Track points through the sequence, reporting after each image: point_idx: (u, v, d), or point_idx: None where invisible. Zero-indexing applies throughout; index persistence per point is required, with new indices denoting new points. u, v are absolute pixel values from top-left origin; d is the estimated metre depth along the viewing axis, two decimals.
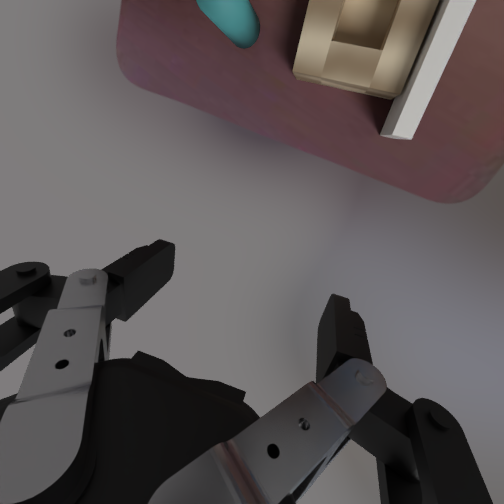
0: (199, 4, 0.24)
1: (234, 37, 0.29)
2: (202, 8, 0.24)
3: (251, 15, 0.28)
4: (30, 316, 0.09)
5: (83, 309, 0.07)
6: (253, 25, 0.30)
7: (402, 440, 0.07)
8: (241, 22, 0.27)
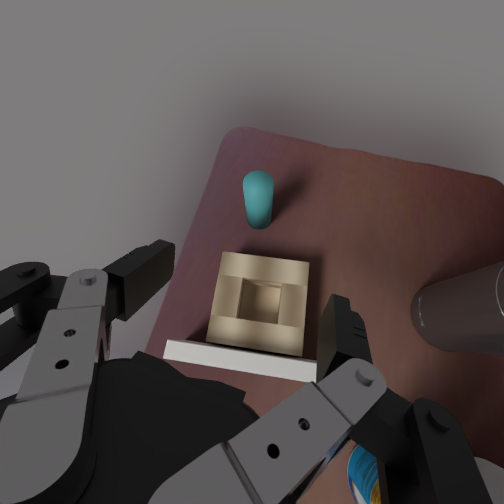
0: (249, 173, 0.33)
1: None
2: (247, 175, 0.33)
3: (258, 218, 0.38)
4: (30, 316, 0.09)
5: (83, 309, 0.07)
6: (256, 221, 0.39)
7: (402, 440, 0.07)
8: (249, 208, 0.36)
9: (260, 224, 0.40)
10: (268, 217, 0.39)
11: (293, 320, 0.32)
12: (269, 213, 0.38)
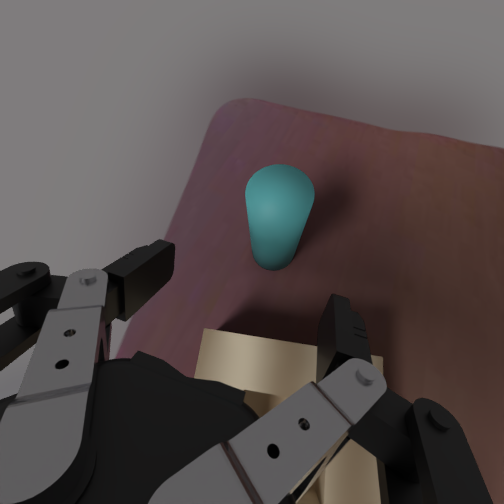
0: (260, 171, 0.15)
1: None
2: (255, 176, 0.15)
3: (275, 256, 0.20)
4: (30, 316, 0.09)
5: (83, 309, 0.07)
6: (269, 261, 0.21)
7: (402, 440, 0.07)
8: (258, 240, 0.18)
9: (276, 264, 0.22)
10: (292, 253, 0.21)
11: (358, 502, 0.14)
12: (295, 247, 0.20)
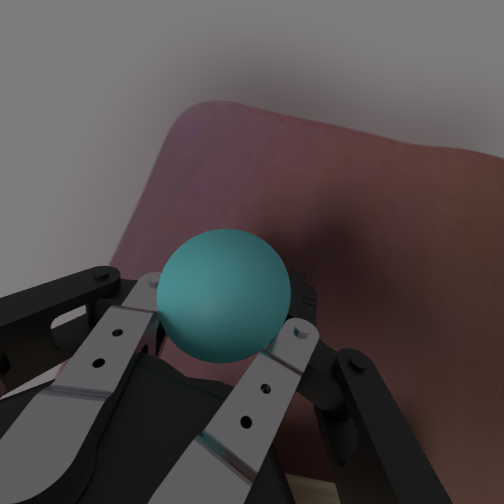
0: (190, 243, 0.08)
1: None
2: (180, 252, 0.08)
3: None
4: (95, 317, 0.09)
5: (137, 312, 0.07)
6: None
7: (327, 382, 0.08)
8: None
9: None
10: None
11: None
12: None
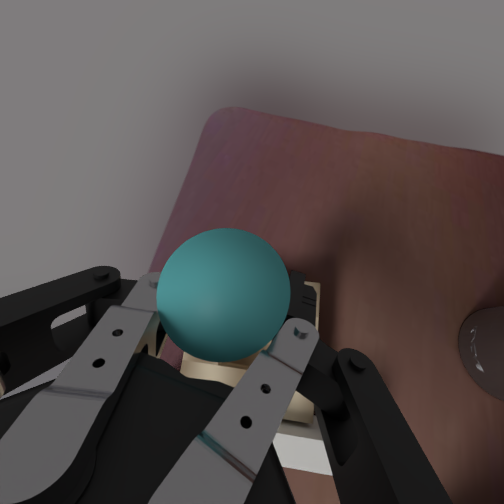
0: (190, 242, 0.08)
1: None
2: (180, 251, 0.08)
3: None
4: (95, 317, 0.09)
5: (137, 312, 0.07)
6: None
7: (327, 382, 0.08)
8: None
9: None
10: None
11: None
12: None
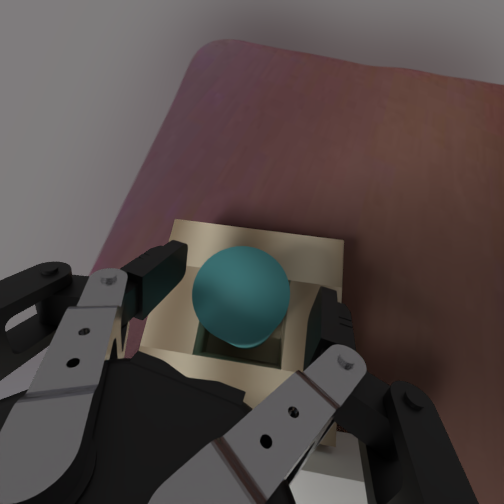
0: (216, 256, 0.11)
1: None
2: (208, 263, 0.11)
3: (244, 347, 0.15)
4: (50, 315, 0.09)
5: (99, 308, 0.07)
6: (238, 347, 0.16)
7: (379, 419, 0.07)
8: None
9: (248, 348, 0.17)
10: (267, 338, 0.16)
11: None
12: None
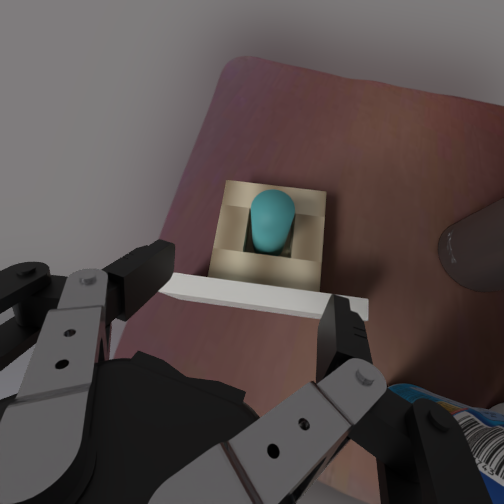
0: (260, 194, 0.23)
1: (252, 233, 0.29)
2: (257, 197, 0.23)
3: (270, 249, 0.28)
4: (30, 316, 0.09)
5: (83, 309, 0.07)
6: (265, 252, 0.29)
7: (402, 440, 0.07)
8: (258, 238, 0.26)
9: (270, 254, 0.30)
10: (282, 247, 0.29)
11: (309, 253, 0.28)
12: (284, 243, 0.28)
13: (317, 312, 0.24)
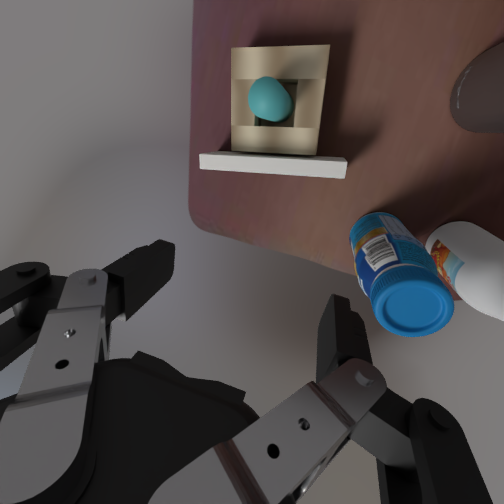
0: (254, 83, 0.28)
1: None
2: (252, 87, 0.28)
3: (275, 121, 0.34)
4: (30, 316, 0.09)
5: (83, 309, 0.07)
6: (274, 121, 0.35)
7: (402, 440, 0.07)
8: None
9: (279, 121, 0.36)
10: (287, 115, 0.34)
11: (308, 120, 0.33)
12: (287, 113, 0.33)
13: (307, 175, 0.34)
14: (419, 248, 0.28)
